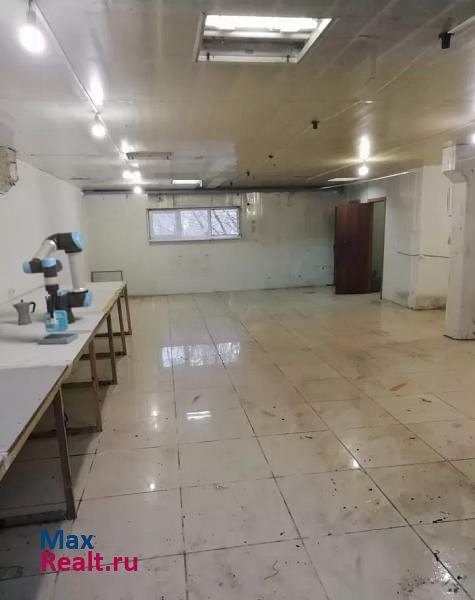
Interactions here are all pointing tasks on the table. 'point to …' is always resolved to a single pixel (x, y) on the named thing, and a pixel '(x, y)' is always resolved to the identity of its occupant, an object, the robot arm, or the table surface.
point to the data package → (60, 321)
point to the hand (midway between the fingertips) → (56, 322)
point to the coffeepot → (24, 312)
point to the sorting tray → (58, 339)
